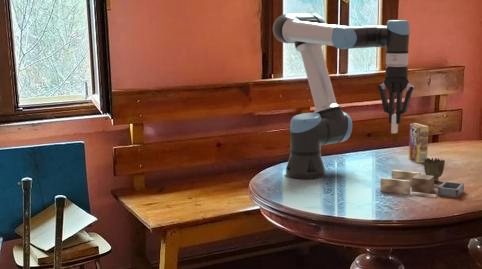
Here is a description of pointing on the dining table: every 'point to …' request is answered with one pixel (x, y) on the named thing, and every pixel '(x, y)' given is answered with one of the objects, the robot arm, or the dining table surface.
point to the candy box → (418, 142)
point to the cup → (434, 167)
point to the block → (422, 183)
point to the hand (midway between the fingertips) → (394, 132)
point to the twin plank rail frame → (401, 183)
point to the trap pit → (450, 189)
